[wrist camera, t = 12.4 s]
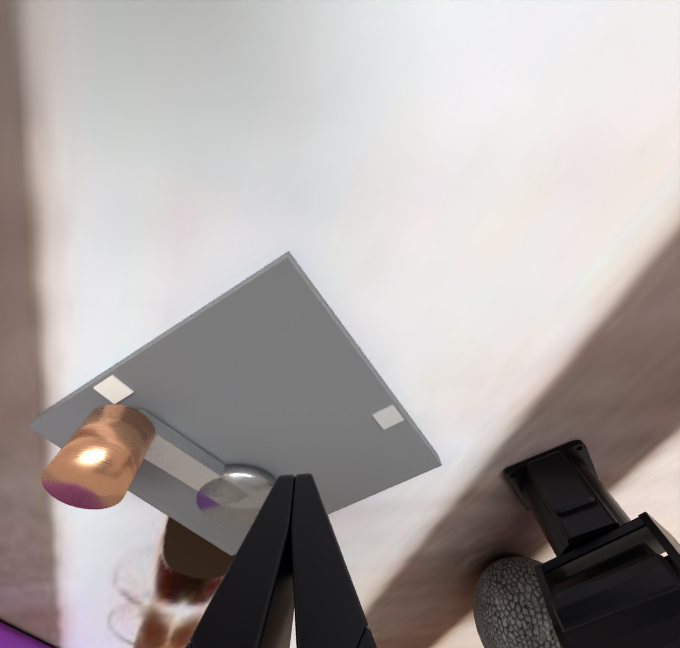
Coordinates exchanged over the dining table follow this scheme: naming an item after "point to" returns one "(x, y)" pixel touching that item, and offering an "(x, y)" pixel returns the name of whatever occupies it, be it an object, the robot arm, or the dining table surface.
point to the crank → (158, 448)
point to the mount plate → (259, 400)
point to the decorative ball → (512, 606)
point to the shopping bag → (17, 639)
